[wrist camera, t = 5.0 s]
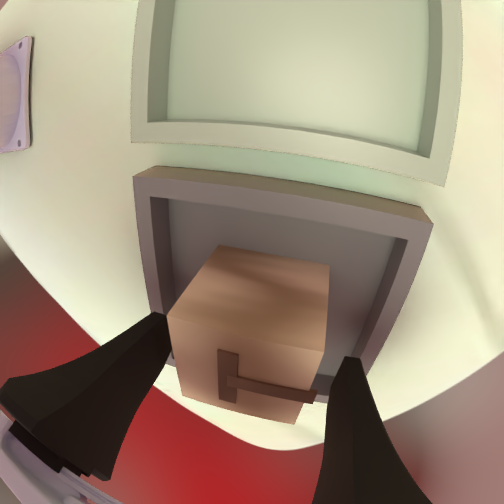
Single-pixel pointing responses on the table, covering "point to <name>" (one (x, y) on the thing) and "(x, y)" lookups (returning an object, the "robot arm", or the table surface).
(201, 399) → the letter cube
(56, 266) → the table surface
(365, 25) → the sage tray
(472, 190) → the table surface
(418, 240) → the charcoal tray
